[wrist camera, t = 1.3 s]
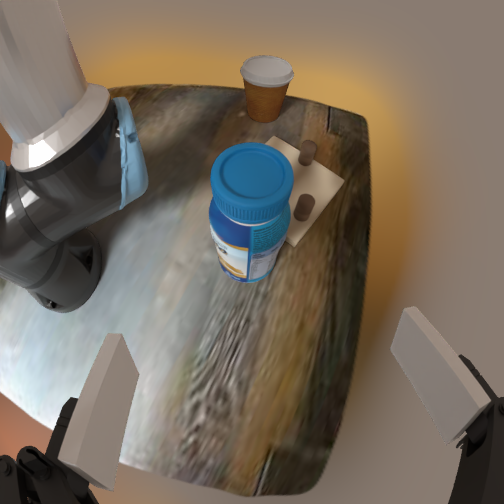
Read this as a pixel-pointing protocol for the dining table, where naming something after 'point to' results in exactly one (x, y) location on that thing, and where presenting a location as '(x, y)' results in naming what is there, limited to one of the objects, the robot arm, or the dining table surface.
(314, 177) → the peg board
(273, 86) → the disposable coffee cup
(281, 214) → the beverage bottle
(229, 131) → the dining table surface
